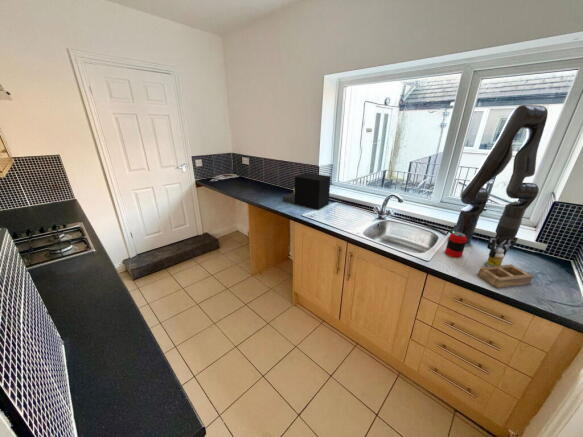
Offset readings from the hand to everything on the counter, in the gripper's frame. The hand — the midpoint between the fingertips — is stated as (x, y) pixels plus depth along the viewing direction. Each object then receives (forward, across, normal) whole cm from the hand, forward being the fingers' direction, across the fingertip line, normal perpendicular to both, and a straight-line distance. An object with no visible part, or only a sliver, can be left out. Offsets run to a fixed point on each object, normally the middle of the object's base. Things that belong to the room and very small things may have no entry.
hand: (496, 256), depth 118 cm
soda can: (+6, +11, -13) cm, 18 cm away
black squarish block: (+6, +70, -108) cm, 129 cm away
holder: (+6, +6, +10) cm, 13 cm away
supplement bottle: (+6, 0, 0) cm, 6 cm away
